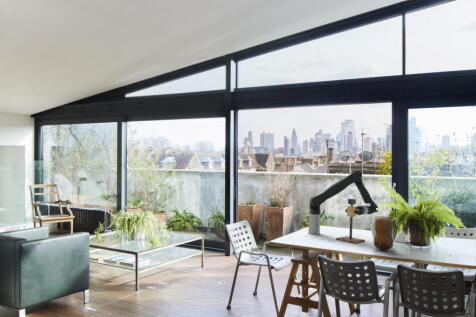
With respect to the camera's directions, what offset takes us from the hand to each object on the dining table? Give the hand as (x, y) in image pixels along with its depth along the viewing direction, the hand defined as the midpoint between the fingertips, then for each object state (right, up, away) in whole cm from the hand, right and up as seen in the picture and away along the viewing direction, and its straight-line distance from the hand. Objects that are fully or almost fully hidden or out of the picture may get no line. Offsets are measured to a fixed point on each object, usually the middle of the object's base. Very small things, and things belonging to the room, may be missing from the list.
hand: (350, 211), depth 342 cm
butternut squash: (+16, -25, -31) cm, 43 cm away
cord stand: (+1, -24, +1) cm, 24 cm away
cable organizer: (+45, -26, +5) cm, 52 cm away
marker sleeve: (+1, -4, +1) cm, 4 cm away
